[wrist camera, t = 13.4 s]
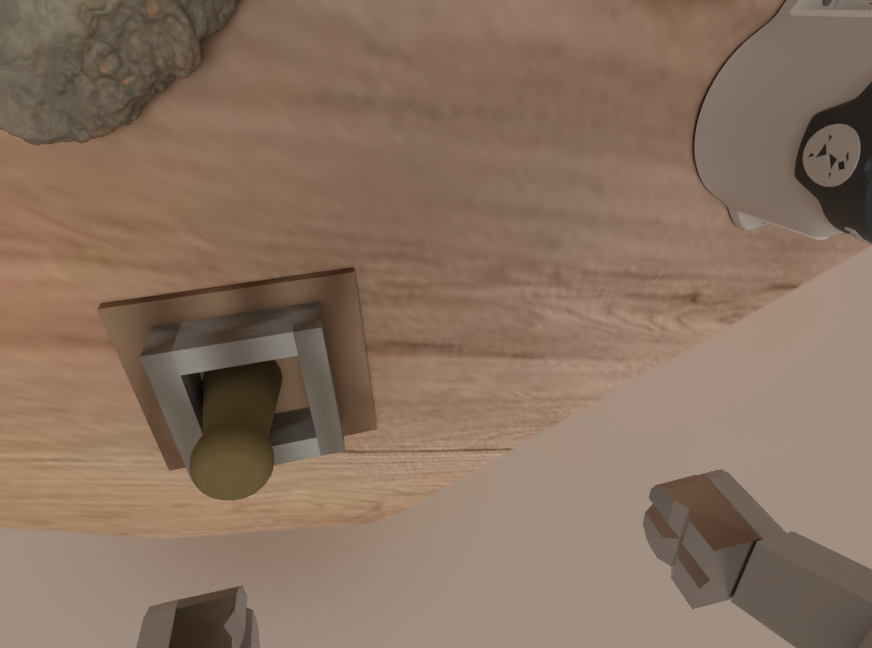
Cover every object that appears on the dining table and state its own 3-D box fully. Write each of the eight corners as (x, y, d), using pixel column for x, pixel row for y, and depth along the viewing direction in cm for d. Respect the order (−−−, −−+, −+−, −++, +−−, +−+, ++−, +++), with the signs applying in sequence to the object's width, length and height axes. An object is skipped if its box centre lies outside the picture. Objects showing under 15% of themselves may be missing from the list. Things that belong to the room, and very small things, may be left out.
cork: (293, 395, 44) (293, 496, 35) (221, 417, 43) (203, 526, 34) (266, 338, 41) (259, 433, 32) (189, 360, 40) (159, 464, 31)
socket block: (353, 267, 40) (360, 295, 36) (375, 423, 49) (383, 460, 45) (100, 303, 37) (78, 339, 33) (171, 463, 46) (159, 507, 42)
